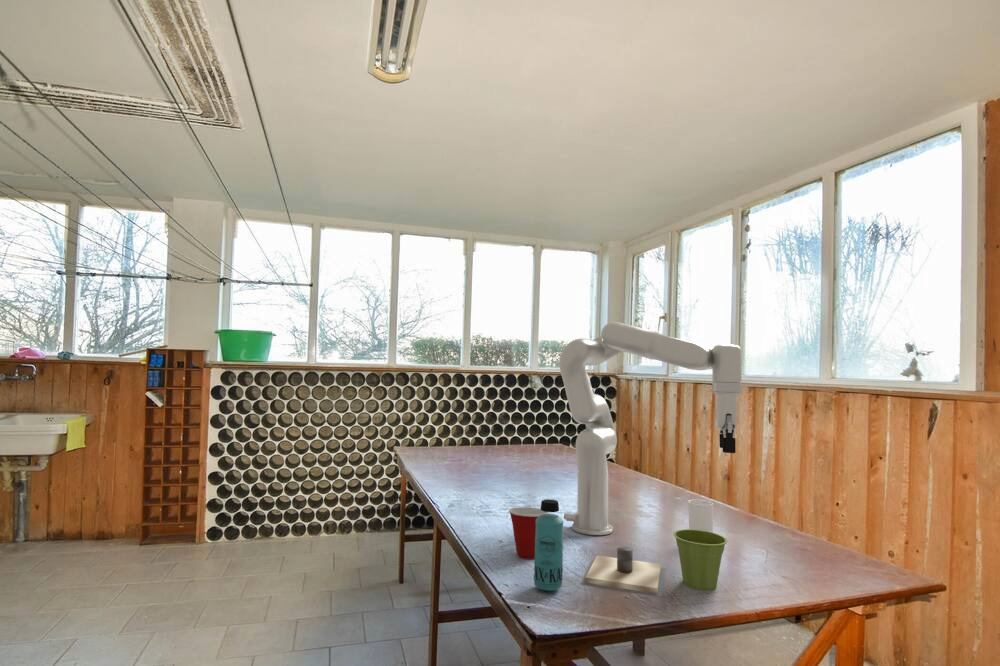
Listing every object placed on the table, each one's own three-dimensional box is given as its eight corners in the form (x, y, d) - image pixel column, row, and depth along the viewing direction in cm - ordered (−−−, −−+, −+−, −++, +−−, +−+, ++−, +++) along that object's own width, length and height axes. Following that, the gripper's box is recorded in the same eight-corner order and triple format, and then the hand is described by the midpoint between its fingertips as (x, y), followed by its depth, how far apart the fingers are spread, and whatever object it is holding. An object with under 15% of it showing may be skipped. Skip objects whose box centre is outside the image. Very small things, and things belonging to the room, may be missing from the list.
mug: (711, 549, 148) (710, 506, 149) (686, 545, 152) (686, 502, 153) (716, 540, 157) (716, 499, 158) (693, 536, 161) (692, 496, 161)
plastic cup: (552, 551, 145) (553, 506, 145) (542, 564, 134) (543, 516, 135) (514, 546, 148) (515, 502, 149) (502, 559, 138) (503, 512, 139)
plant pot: (723, 601, 115) (722, 548, 116) (667, 588, 121) (667, 538, 122) (731, 583, 125) (731, 534, 126) (680, 572, 131) (679, 526, 132)
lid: (585, 582, 122) (585, 555, 123) (596, 560, 137) (597, 535, 138) (657, 593, 117) (657, 565, 117) (661, 569, 132) (661, 543, 132)
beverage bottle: (531, 586, 121) (532, 496, 122) (560, 585, 121) (561, 496, 123) (535, 598, 114) (537, 504, 116) (566, 597, 115) (567, 503, 116)
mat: (580, 585, 121) (580, 583, 121) (593, 560, 138) (593, 558, 138) (662, 598, 115) (662, 596, 115) (665, 570, 132) (665, 568, 132)
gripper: (710, 387, 158) (710, 445, 157) (714, 389, 142) (715, 453, 140) (737, 388, 156) (738, 447, 154) (745, 390, 139) (746, 455, 138)
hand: (727, 450), depth 147 cm, fingers open, 9 cm apart
